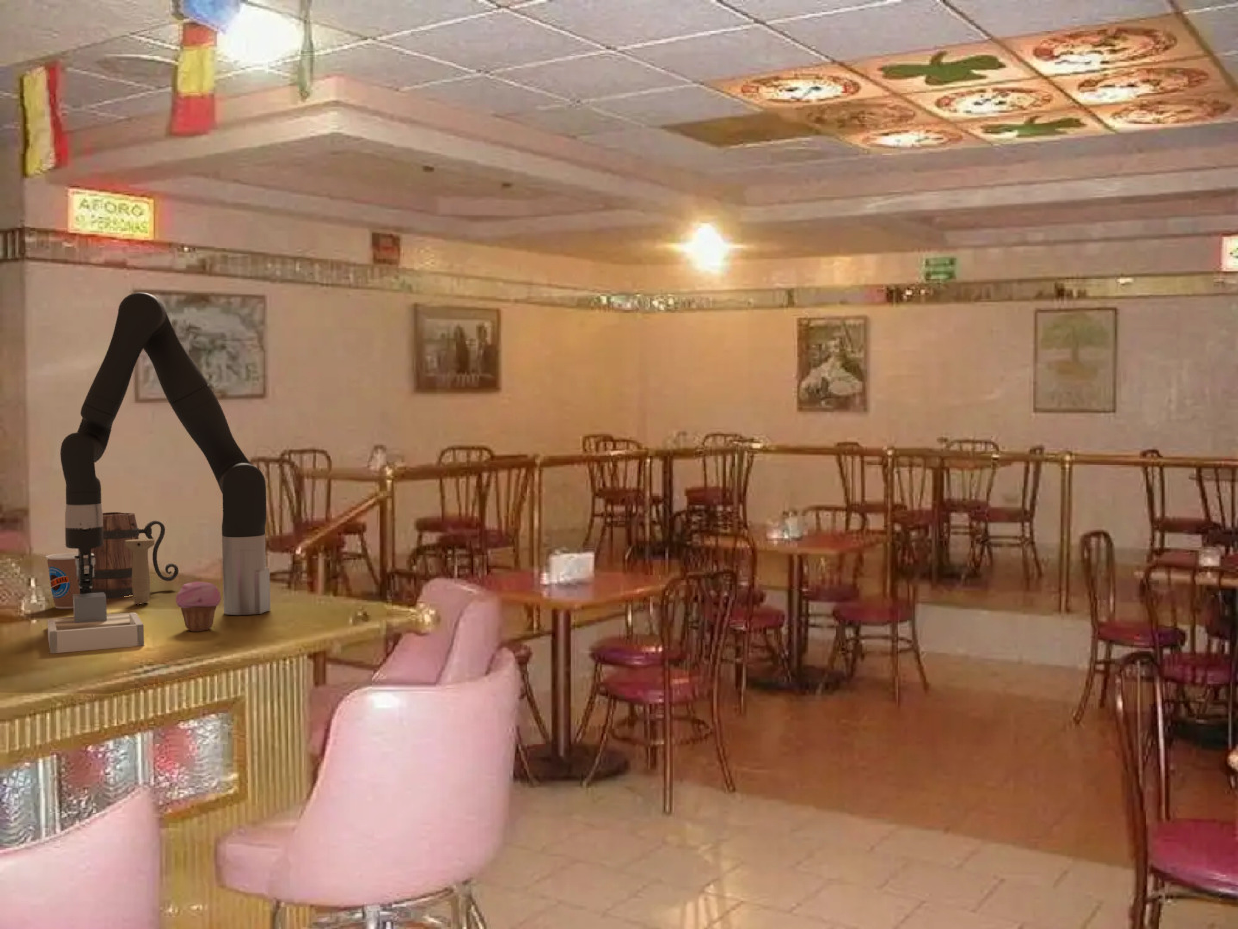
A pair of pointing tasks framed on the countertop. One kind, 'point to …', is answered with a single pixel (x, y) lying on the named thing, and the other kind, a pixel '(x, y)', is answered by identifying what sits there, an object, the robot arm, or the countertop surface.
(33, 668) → the countertop surface
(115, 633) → the box
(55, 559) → the coffee cup
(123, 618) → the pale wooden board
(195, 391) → the robot arm
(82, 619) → the matte grey cube
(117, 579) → the tankard
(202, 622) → the cupcake
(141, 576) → the handle
